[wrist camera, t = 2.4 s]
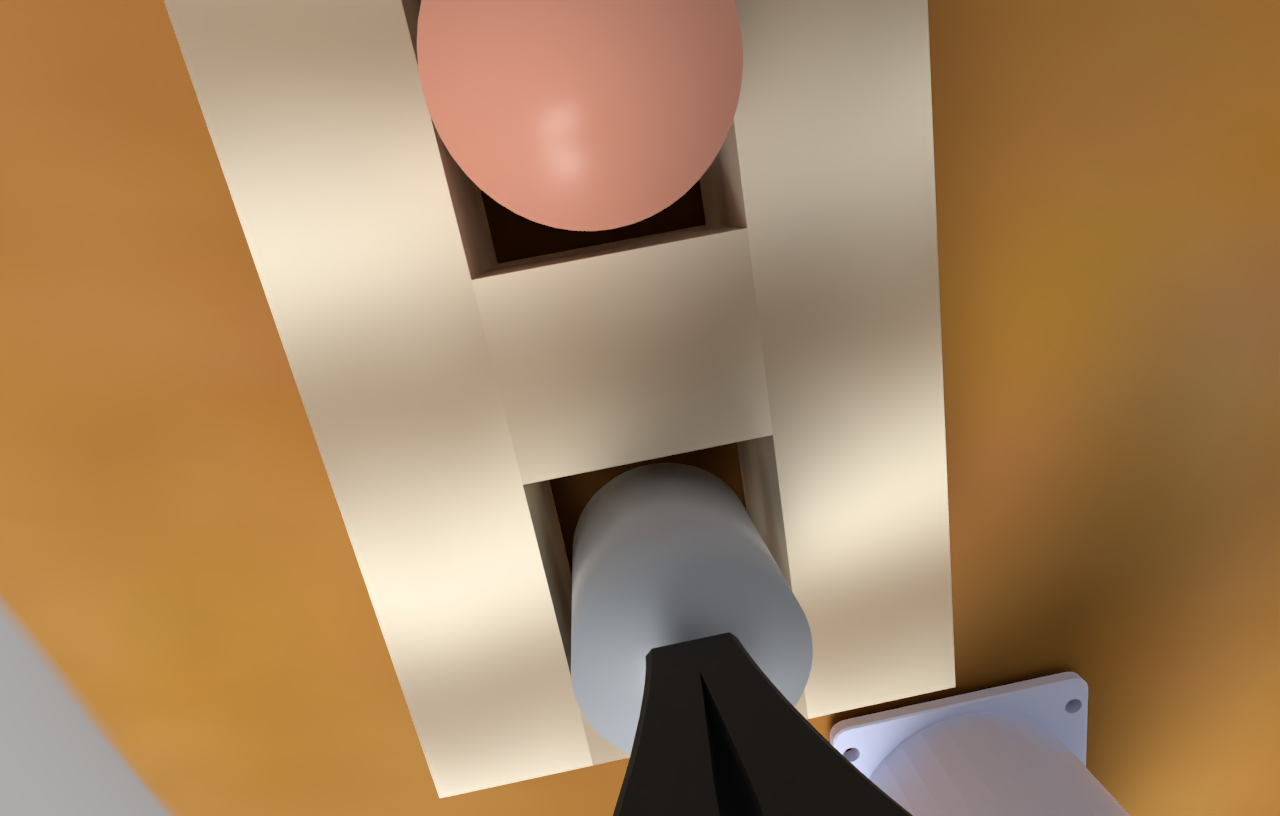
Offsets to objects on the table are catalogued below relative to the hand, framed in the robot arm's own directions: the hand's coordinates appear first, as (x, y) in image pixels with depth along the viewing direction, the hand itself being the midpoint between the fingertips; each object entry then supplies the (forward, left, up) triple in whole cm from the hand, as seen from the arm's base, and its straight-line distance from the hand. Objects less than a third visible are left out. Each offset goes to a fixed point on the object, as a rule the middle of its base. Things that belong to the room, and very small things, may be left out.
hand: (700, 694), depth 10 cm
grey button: (0, 0, -5) cm, 5 cm away
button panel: (+4, 0, -8) cm, 9 cm away
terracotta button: (+9, 0, -5) cm, 10 cm away
